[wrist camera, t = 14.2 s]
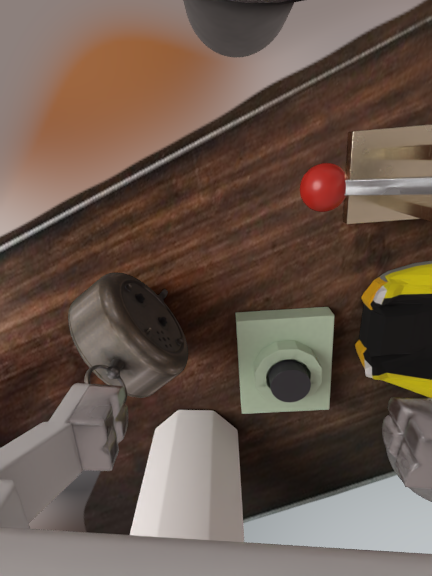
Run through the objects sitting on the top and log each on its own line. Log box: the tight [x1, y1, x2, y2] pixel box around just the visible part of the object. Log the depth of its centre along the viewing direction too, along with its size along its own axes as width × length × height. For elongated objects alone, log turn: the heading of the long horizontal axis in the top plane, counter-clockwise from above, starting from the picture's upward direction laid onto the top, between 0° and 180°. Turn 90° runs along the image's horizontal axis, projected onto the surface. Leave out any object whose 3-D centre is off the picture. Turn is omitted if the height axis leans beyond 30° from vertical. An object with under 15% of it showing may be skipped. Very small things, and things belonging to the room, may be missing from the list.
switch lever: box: [300, 163, 432, 212], centre depth 24 cm, size 13×4×4 cm, turn 94°
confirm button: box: [269, 360, 311, 402], centre depth 34 cm, size 4×4×2 cm
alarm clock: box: [68, 273, 188, 404], centre depth 29 cm, size 11×5×16 cm, turn 39°
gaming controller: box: [355, 261, 432, 398], centre depth 34 cm, size 15×6×10 cm
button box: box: [235, 307, 334, 414], centre depth 37 cm, size 12×10×4 cm
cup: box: [130, 410, 244, 542], centre depth 35 cm, size 11×11×18 cm
